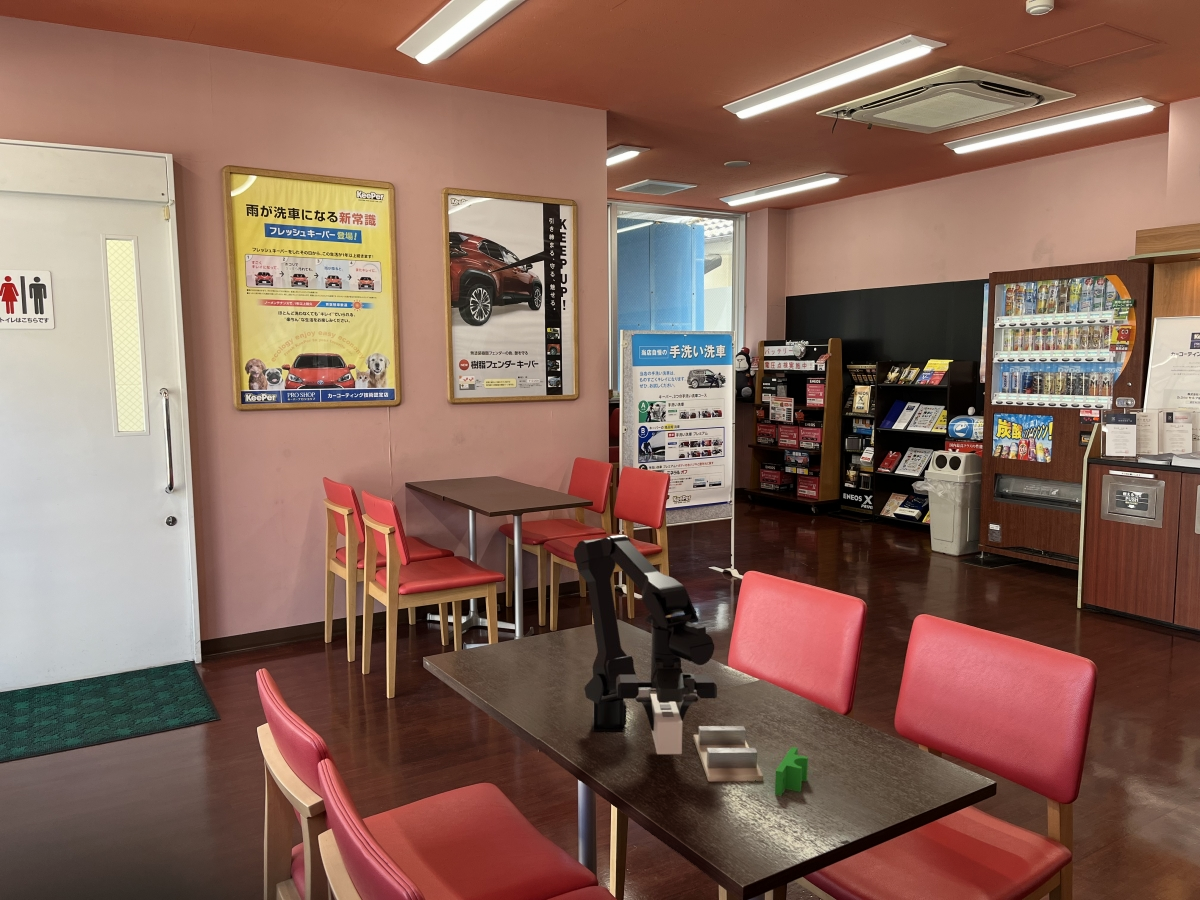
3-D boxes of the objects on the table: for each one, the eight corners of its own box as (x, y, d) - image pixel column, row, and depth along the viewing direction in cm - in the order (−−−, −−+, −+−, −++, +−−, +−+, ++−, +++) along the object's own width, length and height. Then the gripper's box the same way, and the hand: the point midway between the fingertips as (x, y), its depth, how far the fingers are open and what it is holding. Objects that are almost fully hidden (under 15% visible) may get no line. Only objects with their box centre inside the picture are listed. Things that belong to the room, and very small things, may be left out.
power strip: (657, 754, 153) (657, 721, 153) (649, 723, 167) (650, 692, 167) (681, 754, 154) (682, 721, 153) (672, 723, 168) (672, 692, 167)
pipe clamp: (796, 800, 146) (796, 775, 146) (774, 795, 148) (775, 770, 147) (811, 774, 156) (811, 750, 156) (791, 769, 158) (791, 745, 157)
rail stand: (708, 781, 152) (708, 760, 152) (693, 739, 170) (693, 720, 170) (763, 781, 153) (763, 759, 152) (742, 739, 170) (742, 720, 170)
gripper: (620, 664, 151) (618, 748, 152) (723, 664, 151) (721, 748, 153) (616, 645, 162) (615, 723, 163) (712, 645, 163) (710, 723, 164)
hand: (665, 729), depth 160 cm, fingers closed on power strip, 4 cm apart
